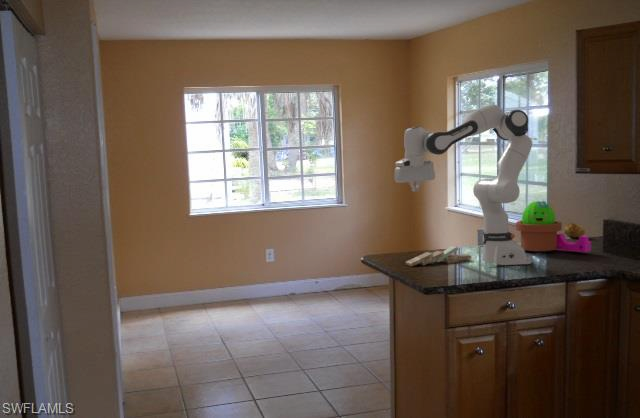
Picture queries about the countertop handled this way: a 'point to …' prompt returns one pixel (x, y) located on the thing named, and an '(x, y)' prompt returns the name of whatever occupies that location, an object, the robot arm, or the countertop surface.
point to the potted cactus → (538, 227)
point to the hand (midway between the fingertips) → (415, 191)
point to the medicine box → (480, 236)
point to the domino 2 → (458, 257)
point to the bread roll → (574, 230)
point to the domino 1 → (435, 256)
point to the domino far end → (419, 259)
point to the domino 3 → (455, 260)
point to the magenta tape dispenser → (574, 244)
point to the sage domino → (447, 253)
